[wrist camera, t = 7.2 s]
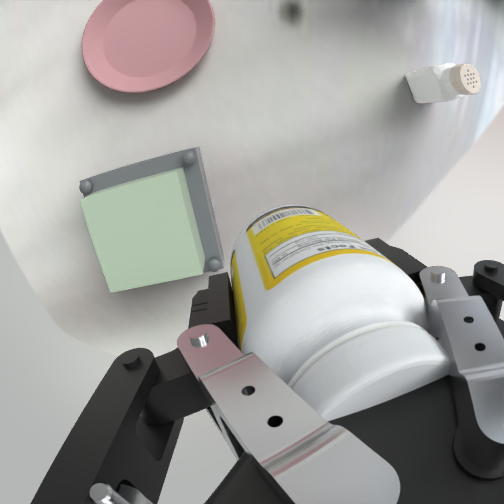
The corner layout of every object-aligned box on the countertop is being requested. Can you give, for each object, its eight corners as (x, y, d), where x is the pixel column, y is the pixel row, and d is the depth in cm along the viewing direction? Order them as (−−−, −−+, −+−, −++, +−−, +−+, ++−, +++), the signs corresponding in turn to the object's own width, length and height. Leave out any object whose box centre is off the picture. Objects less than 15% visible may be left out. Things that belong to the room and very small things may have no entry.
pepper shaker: (402, 74, 29) (451, 62, 20) (425, 68, 29) (475, 57, 20) (414, 104, 31) (465, 101, 22) (436, 97, 30) (487, 94, 22)
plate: (125, -26, 22) (121, -33, 21) (237, 3, 26) (238, -5, 24) (69, 77, 26) (61, 74, 25) (179, 113, 30) (176, 111, 28)
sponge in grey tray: (199, 146, 31) (191, 148, 23) (223, 254, 35) (223, 286, 28) (94, 175, 31) (61, 187, 23) (124, 274, 35) (103, 309, 27)
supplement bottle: (300, 328, 16) (369, 498, 6) (207, 278, 14) (198, 476, 5) (366, 242, 14) (512, 368, 5) (275, 177, 13) (399, 265, 4)
